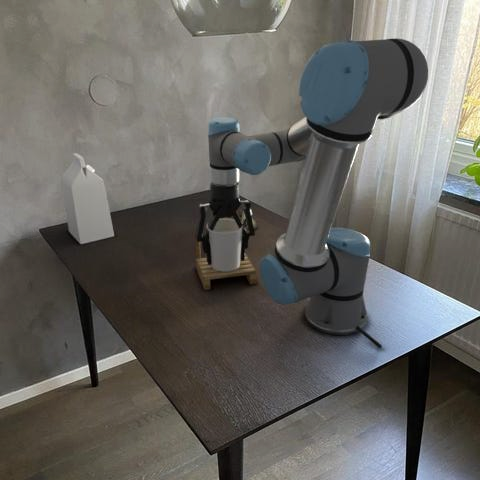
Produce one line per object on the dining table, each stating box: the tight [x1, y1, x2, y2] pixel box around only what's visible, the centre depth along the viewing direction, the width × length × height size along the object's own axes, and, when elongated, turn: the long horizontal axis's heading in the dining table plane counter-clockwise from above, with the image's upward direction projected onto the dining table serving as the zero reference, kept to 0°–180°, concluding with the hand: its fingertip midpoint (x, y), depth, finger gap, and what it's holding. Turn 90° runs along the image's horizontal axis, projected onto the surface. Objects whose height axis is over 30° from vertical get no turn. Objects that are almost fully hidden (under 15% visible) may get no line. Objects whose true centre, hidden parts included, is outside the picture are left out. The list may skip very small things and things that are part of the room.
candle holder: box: [205, 218, 244, 272], centre depth 141 cm, size 10×10×12 cm
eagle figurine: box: [236, 208, 257, 231], centre depth 175 cm, size 8×7×9 cm
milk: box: [61, 152, 115, 245], centre depth 164 cm, size 12×12×26 cm
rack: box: [194, 233, 257, 291], centre depth 144 cm, size 13×15×11 cm
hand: (225, 260), depth 143 cm, fingers closed on candle holder, 9 cm apart
